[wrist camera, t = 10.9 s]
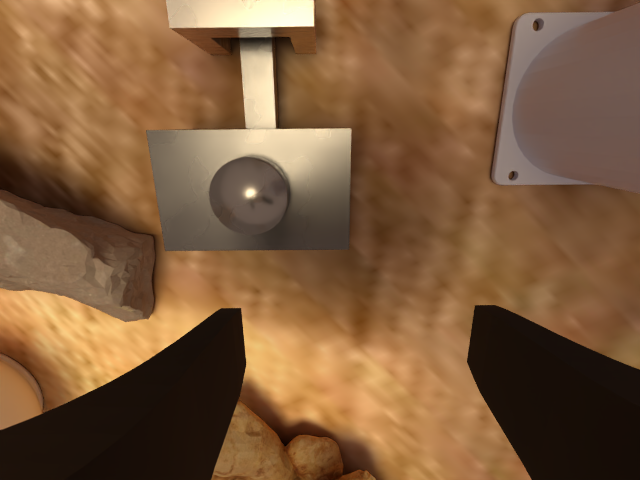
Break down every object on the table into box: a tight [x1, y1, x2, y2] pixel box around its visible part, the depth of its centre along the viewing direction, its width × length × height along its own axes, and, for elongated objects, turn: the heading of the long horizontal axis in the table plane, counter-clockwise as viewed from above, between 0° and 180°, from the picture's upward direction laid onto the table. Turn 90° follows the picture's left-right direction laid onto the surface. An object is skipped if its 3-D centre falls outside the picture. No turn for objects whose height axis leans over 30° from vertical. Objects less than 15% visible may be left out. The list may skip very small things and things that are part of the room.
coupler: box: [146, 37, 351, 251], centre depth 15 cm, size 8×14×6 cm, turn 0°
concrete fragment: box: [0, 190, 155, 322], centre depth 17 cm, size 7×14×6 cm, turn 54°
